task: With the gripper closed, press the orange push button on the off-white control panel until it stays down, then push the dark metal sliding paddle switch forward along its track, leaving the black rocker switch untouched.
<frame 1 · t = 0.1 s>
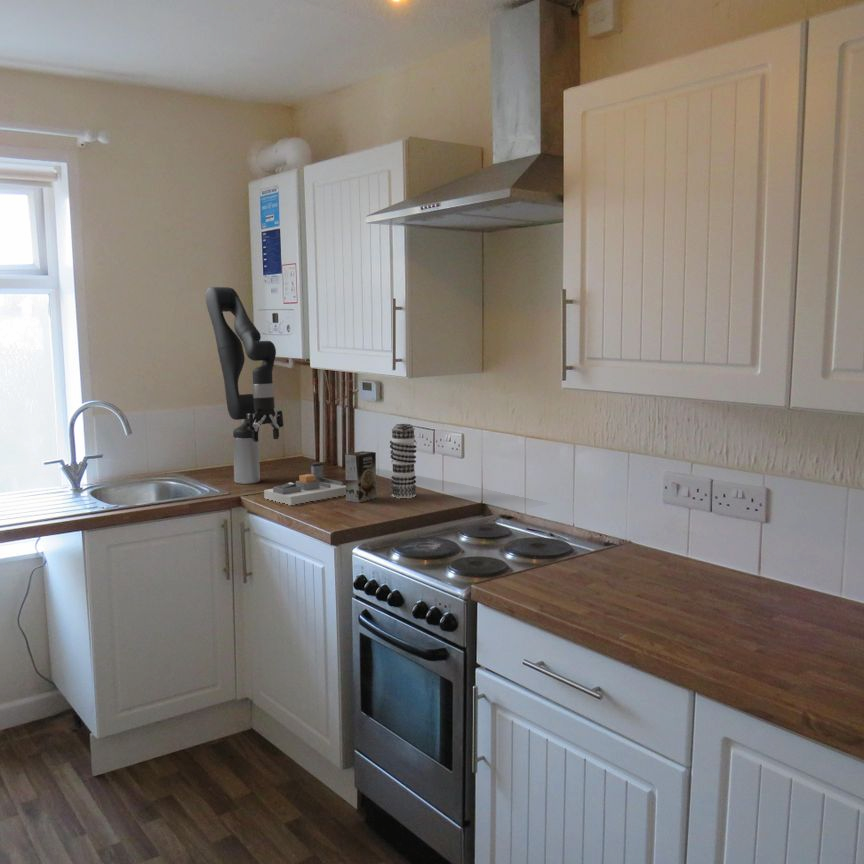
hand: (265, 440, 312), 17 cm above the worktop, tool pointing down, fingers open, 8 cm apart
decorative candle: (403, 496, 296), on the worktop
rocker switch: (286, 486, 289), point 5 cm above the worktop, hinge at 10.0°
slide paddle: (317, 472, 305), point 7 cm above the worktop, slide at 0.0 cm
control panel: (307, 496, 296), on the worktop
push button: (307, 478, 295), point 6 cm above the worktop, slide at 0.0 cm
coffee box: (361, 500, 290), on the worktop
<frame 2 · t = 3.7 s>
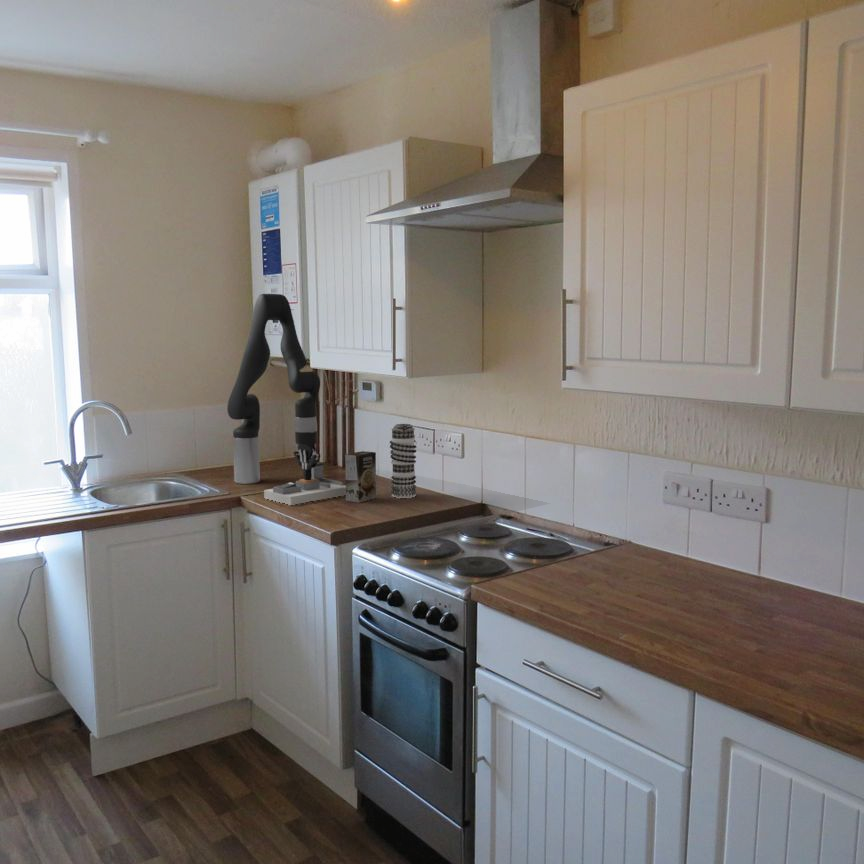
hand: (307, 479, 295), 6 cm above the worktop, tool pointing down, fingers closed
push button: (307, 482, 295), point 5 cm above the worktop, slide at 1.5 cm, touching gripper
everything else where it was.
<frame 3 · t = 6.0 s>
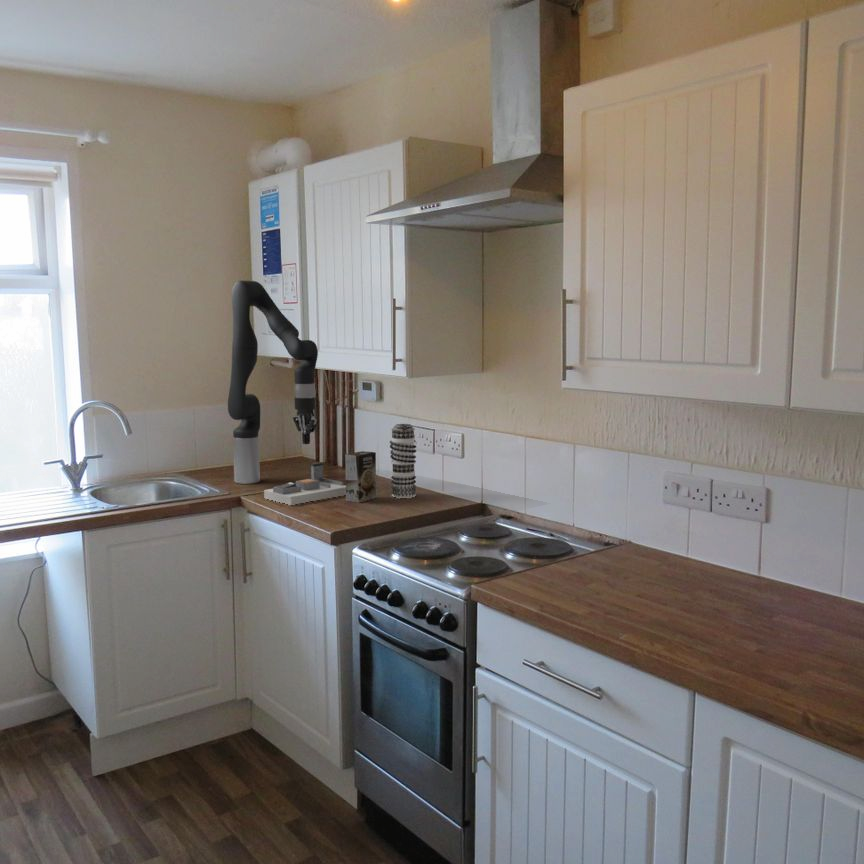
hand: (306, 443, 308), 16 cm above the worktop, tool pointing down, fingers closed
push button: (307, 484, 295), point 4 cm above the worktop, slide at 1.9 cm
everything else where it was.
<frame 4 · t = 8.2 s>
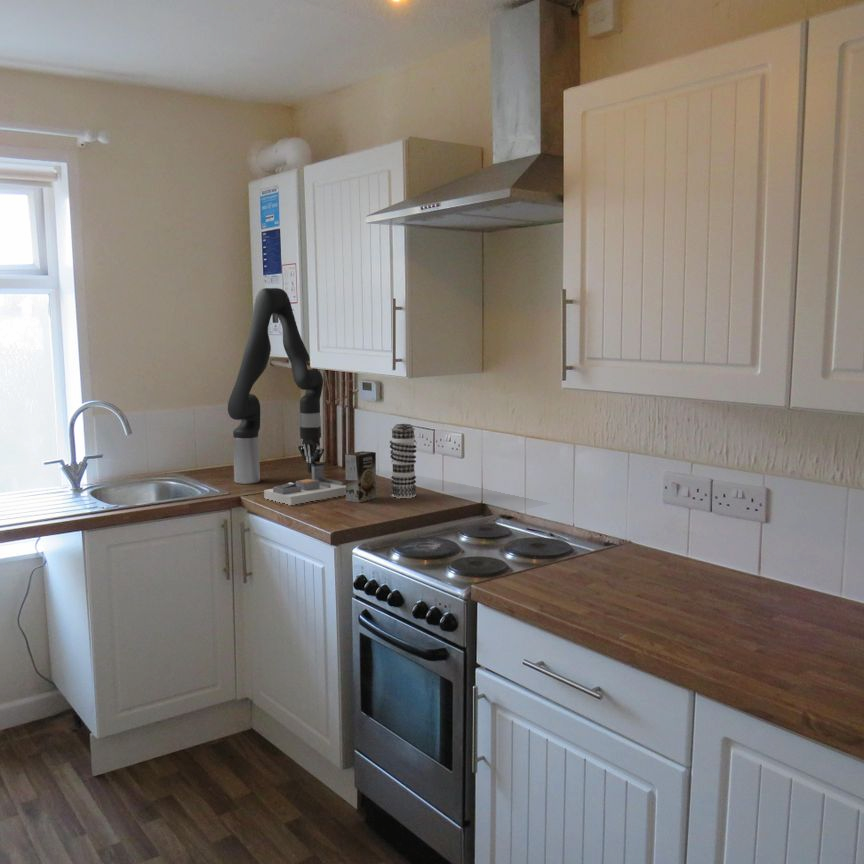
hand: (311, 472, 307), 6 cm above the worktop, tool pointing down, fingers closed
slide paddle: (317, 472, 305), point 7 cm above the worktop, slide at 0.3 cm, touching gripper
everything else where it was.
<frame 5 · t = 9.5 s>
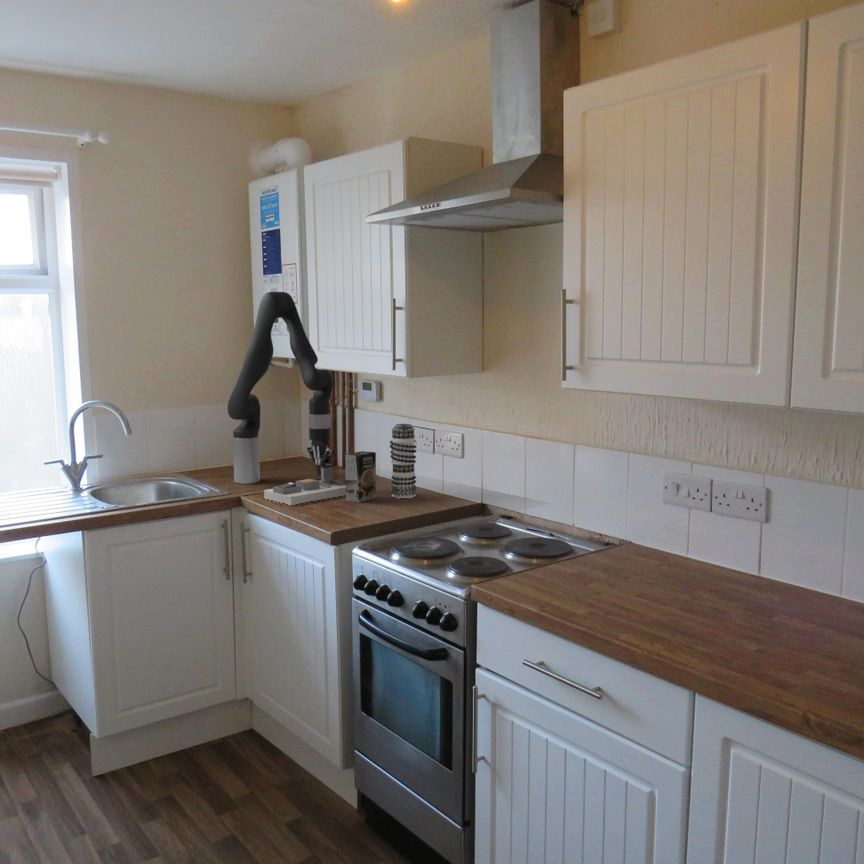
hand: (320, 474, 304), 6 cm above the worktop, tool pointing down, fingers closed
slide paddle: (326, 474, 301), point 7 cm above the worktop, slide at 5.9 cm, touching gripper
everything else where it was.
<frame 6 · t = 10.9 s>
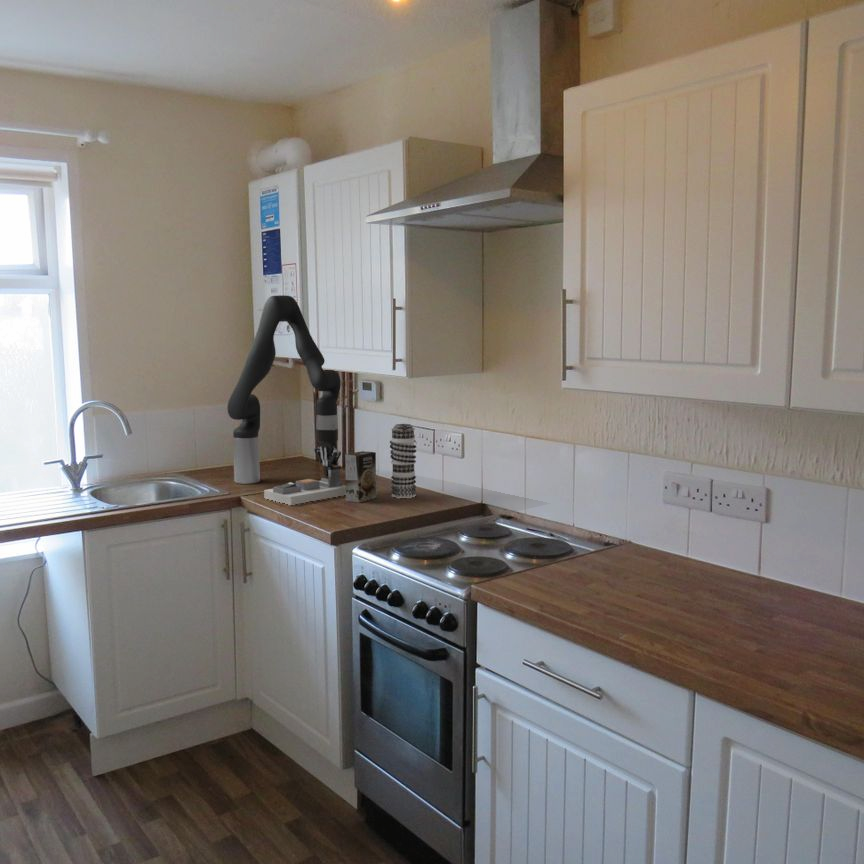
hand: (328, 476, 300), 6 cm above the worktop, tool pointing down, fingers closed
slide paddle: (334, 476, 298), point 7 cm above the worktop, slide at 10.1 cm, touching gripper
everything else where it was.
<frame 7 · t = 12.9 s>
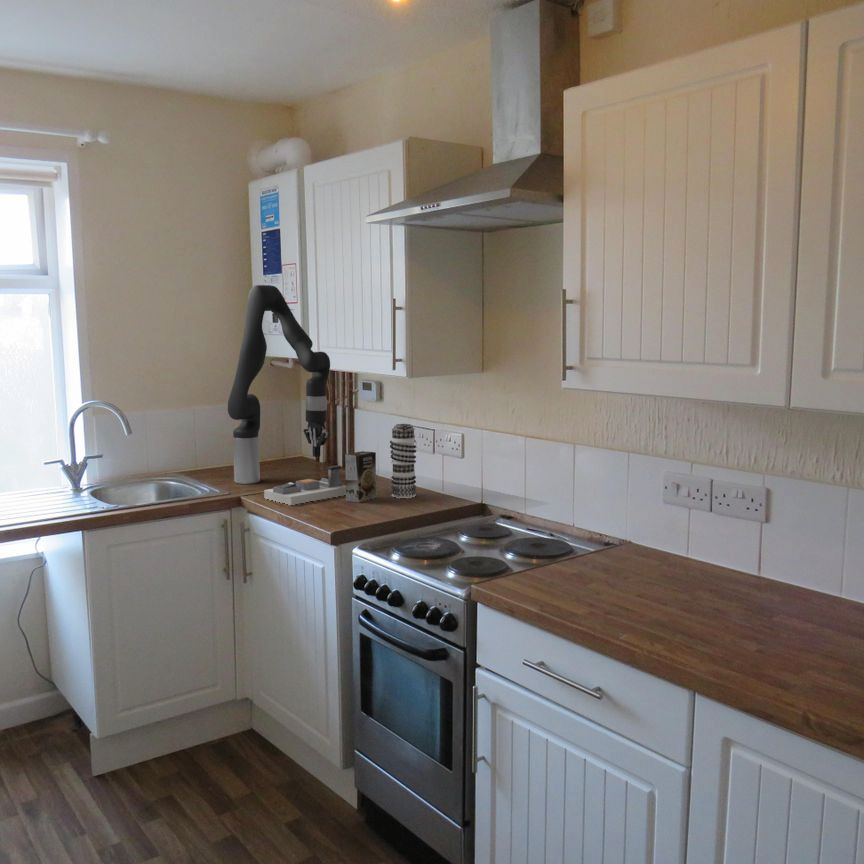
hand: (316, 456, 304), 12 cm above the worktop, tool pointing down, fingers closed
slide paddle: (334, 476, 298), point 7 cm above the worktop, slide at 10.0 cm
everything else where it was.
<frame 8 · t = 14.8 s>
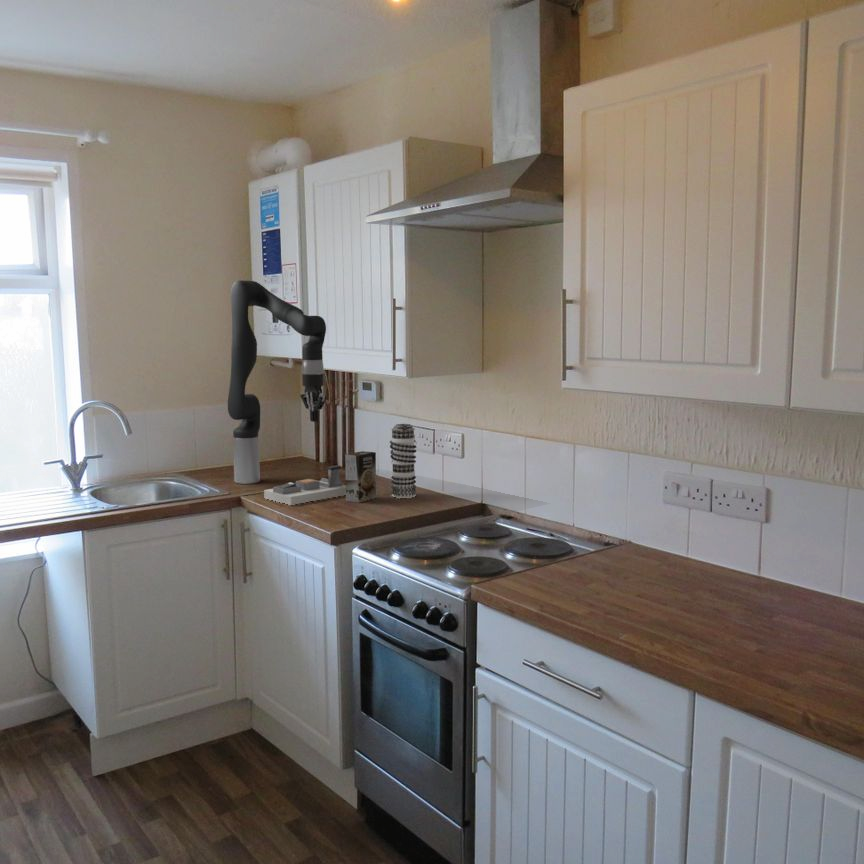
hand: (314, 421, 303), 25 cm above the worktop, tool pointing down, fingers closed
nothing on the worktop moved.
at the end: slide paddle slide at 10.0 cm; push button slide at 1.9 cm; rocker switch at +10° (first picture: +10°) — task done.
